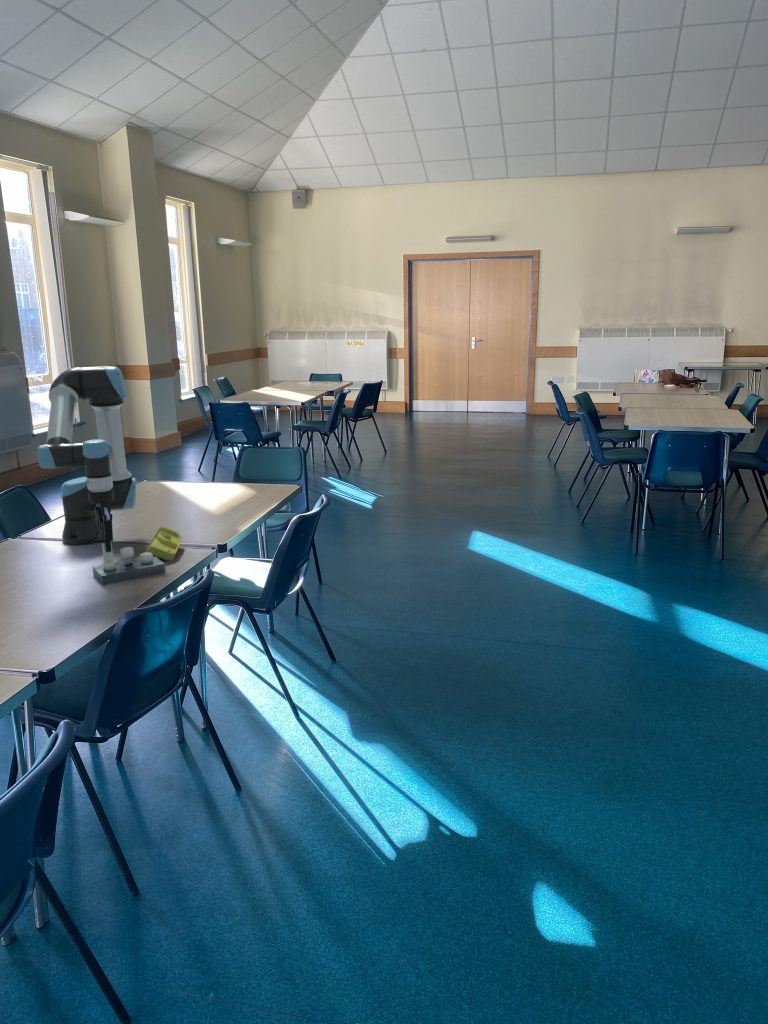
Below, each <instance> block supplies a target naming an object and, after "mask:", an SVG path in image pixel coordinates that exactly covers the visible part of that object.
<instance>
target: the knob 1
mask: <svg viewBox="0 0 768 1024" xmlns="http://www.w3.org/2000/svg"><path fill="white" fill-rule="evenodd" d="M116 562H117V561H116V560H115V559H114V560H113V561H108V562H104V560H103V561H102V563H101V564H103V570H106V571H109V570H114V569H116Z"/></svg>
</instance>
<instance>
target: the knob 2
mask: <svg viewBox="0 0 768 1024" xmlns="http://www.w3.org/2000/svg"><path fill="white" fill-rule="evenodd" d="M145 552H146V551H145ZM145 552H141V553H140V554H139V557H140V562H141V563H151V562H153V555H152V553H150V552H146V553H145Z"/></svg>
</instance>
